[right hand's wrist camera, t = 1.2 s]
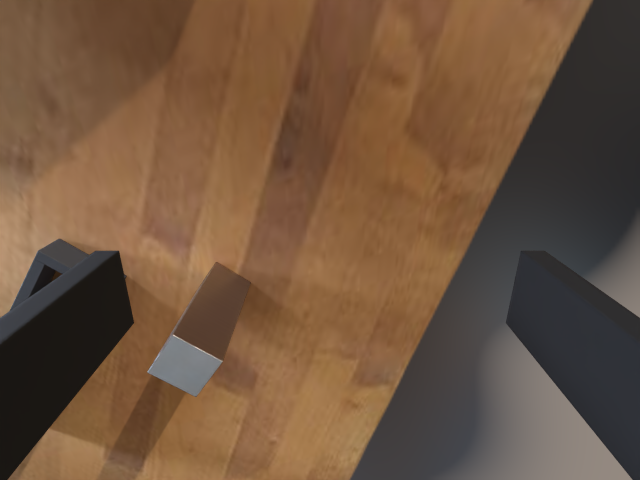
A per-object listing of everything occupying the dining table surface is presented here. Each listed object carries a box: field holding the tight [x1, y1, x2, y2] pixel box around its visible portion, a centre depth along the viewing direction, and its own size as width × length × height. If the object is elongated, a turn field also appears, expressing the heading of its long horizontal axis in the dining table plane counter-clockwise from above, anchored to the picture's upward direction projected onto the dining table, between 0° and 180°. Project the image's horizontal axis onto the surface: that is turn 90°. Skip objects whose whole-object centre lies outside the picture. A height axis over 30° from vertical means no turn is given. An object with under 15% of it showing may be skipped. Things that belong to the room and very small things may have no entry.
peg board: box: [10, 239, 126, 311], centre depth 36 cm, size 24×7×11 cm, turn 145°
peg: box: [148, 262, 251, 397], centre depth 33 cm, size 4×4×12 cm
